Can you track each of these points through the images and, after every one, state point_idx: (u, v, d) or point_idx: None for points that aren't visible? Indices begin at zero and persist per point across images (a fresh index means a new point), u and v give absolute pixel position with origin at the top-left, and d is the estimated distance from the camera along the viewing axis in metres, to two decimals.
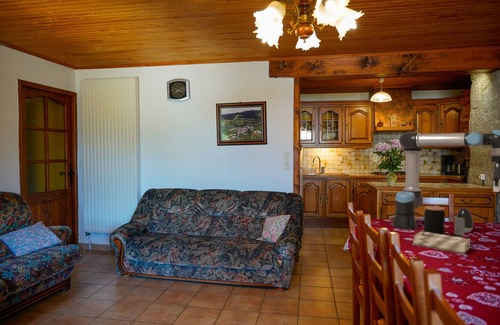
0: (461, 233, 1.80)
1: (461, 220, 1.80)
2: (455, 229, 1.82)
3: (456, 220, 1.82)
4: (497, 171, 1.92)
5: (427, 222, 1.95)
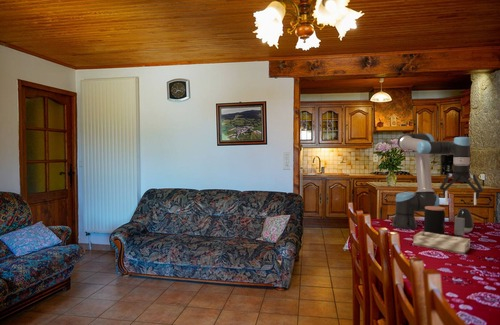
0: (461, 233, 1.80)
1: (461, 220, 1.80)
2: (455, 229, 1.82)
3: (456, 220, 1.82)
4: (444, 180, 1.87)
5: (427, 222, 1.95)
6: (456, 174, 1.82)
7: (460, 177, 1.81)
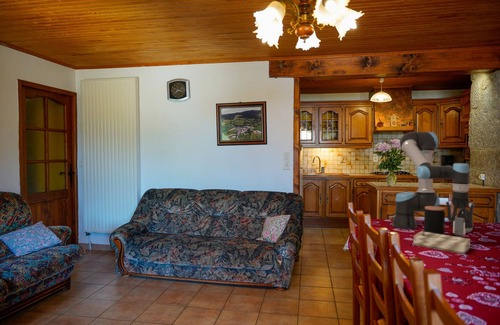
0: (461, 233, 1.80)
1: (461, 220, 1.80)
2: (455, 229, 1.82)
3: (456, 220, 1.82)
4: None
5: (427, 222, 1.95)
6: (454, 199, 1.83)
7: (459, 203, 1.81)
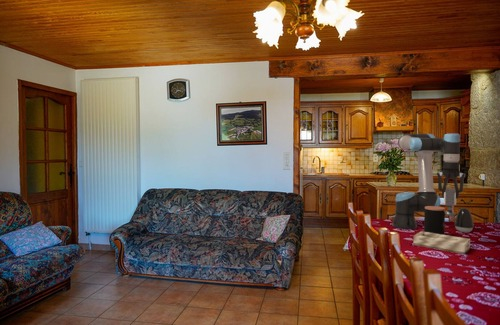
0: (452, 203, 1.80)
1: (452, 190, 1.79)
2: (446, 200, 1.81)
3: (447, 191, 1.81)
4: None
5: (427, 222, 1.95)
6: (445, 170, 1.82)
7: (450, 174, 1.80)
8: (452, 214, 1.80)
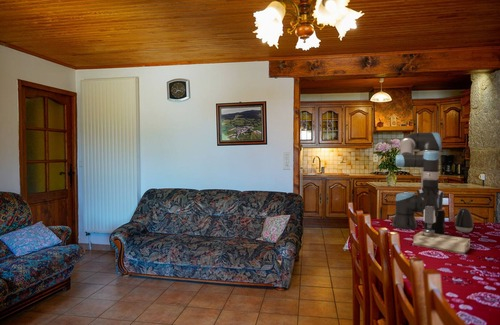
0: (431, 221, 1.79)
1: (431, 208, 1.79)
2: (425, 217, 1.81)
3: (426, 208, 1.81)
4: None
5: None
6: (425, 187, 1.82)
7: (429, 191, 1.80)
8: (431, 232, 1.80)
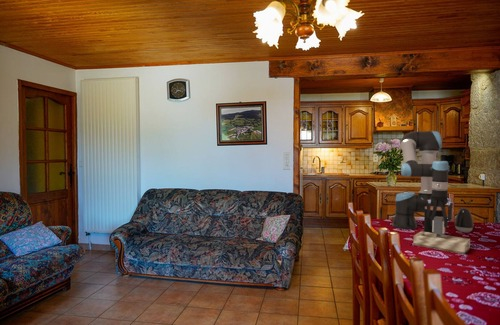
0: (440, 232, 1.76)
1: (440, 219, 1.76)
2: (434, 228, 1.78)
3: (435, 219, 1.78)
4: None
5: (427, 222, 1.95)
6: (434, 198, 1.79)
7: (438, 202, 1.77)
8: None
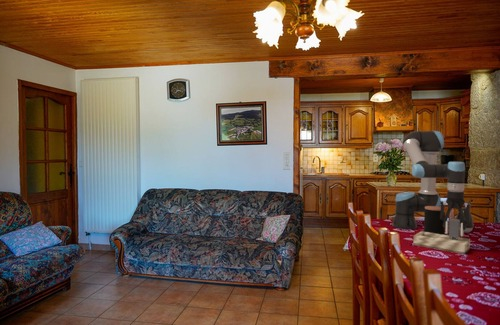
0: (456, 235, 1.72)
1: (456, 222, 1.71)
2: (450, 231, 1.73)
3: (451, 222, 1.73)
4: (441, 210, 1.78)
5: (427, 222, 1.95)
6: (449, 200, 1.74)
7: (454, 204, 1.73)
8: None
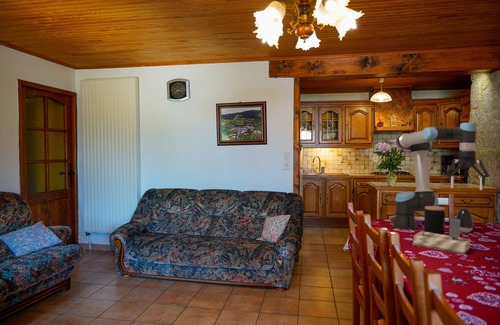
0: (456, 235, 1.71)
1: (457, 222, 1.71)
2: (450, 231, 1.73)
3: (451, 222, 1.73)
4: None
5: (427, 222, 1.95)
6: (462, 160, 1.83)
7: (466, 162, 1.82)
8: None
